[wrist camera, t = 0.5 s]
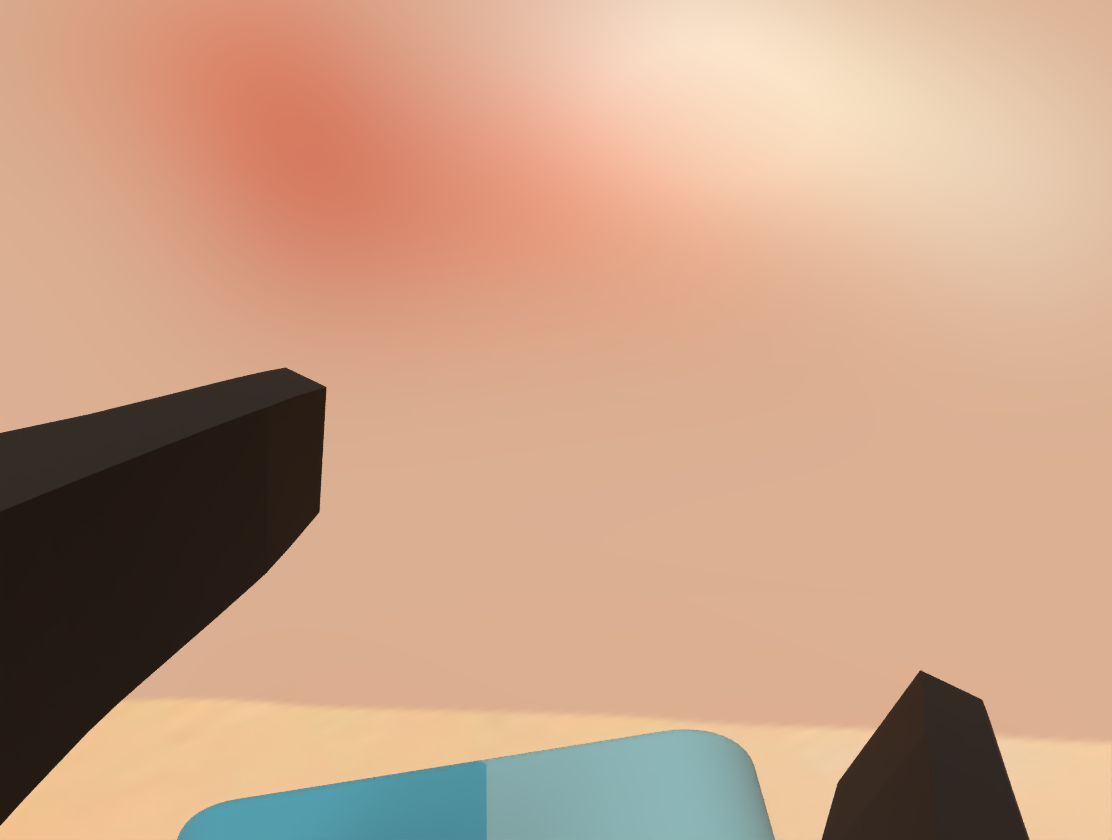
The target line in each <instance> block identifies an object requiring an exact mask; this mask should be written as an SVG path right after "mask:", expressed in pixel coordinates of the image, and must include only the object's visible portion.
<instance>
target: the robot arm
mask: <svg viewBox="0 0 1112 840" xmlns="http://www.w3.org/2000/svg"><path fill="white" fill-rule="evenodd" d="M325 402H326V387H325V386H323V385H321V384H319V383H317V382H314V381H312V380H310V379H308V378H306V377H304V376H302V375H300V374H298V373H296V372H294V371H292V370H289V369H287V368H281V369H276V370H270V371H265V372H261V373H256V374H251V375H247V376H243V377H239V378H234V379H230V380H226V381H222V382H218V383H214V384H210V385H206V386H202V387H198V388H194V389H190V390H186V391H182V392H178V393H174V394H170V395H166V396H162V397H158V398H154V399H150V400H145V401H141V402H137V403H133V404H129V405H125V406H121V407H117V408H113V409H109V410H105V411H101V412H96V413H92V414H88V415H83V416H79V417H74V418H70V419H64V420H60V421H56V422H50V423H46V424H41V425H36V426H32V427H27V428H22V429H17V430H13V431H8V432H3V433H0V825H1V824H2V823H3V822H4V821H5V820H6V819H7V818H8V817H9V815H10V814H11V813H12V812H13V811H14V810H15V809H16V808H17V807H18V805H19V804H20V803H21V802H22V801H23V800H24V799H25V798H26V797H27V796H28V795H29V794H30V793H31V791H32V790H33V789H34V788H35V787H36V786H37V785H38V784H39V783H40V782H41V781H42V780H43V779H44V778H45V777H46V776H47V775H48V774H49V772H50V771H51V770H52V769H53V768H54V767H55V766H56V765H57V764H58V763H59V762H60V761H61V760H62V759H63V758H64V757H65V756H66V755H67V754H68V752H69V751H70V750H71V749H72V748H73V747H74V746H75V745H76V744H77V743H78V742H79V741H80V740H81V739H82V738H83V737H84V736H85V735H86V734H87V733H88V732H89V731H90V730H91V729H92V728H93V727H94V726H95V725H96V724H97V723H98V722H99V721H100V720H101V719H102V718H103V717H104V716H105V715H107V714H108V713H109V712H110V711H111V710H112V709H113V708H114V707H115V706H116V705H117V704H118V703H119V702H120V701H121V700H123V699H124V698H125V697H126V696H127V695H128V694H129V693H131V692H132V691H133V690H134V689H135V688H136V687H137V686H139V685H140V684H141V683H142V682H143V681H144V680H145V679H146V678H148V677H149V676H150V675H151V674H152V673H153V672H155V671H156V670H157V669H158V668H159V667H160V666H162V665H163V664H164V663H165V662H166V661H167V660H168V659H169V658H171V657H172V656H173V655H174V654H175V653H176V652H178V650H180V649H181V648H182V647H183V646H184V645H186V644H187V643H188V642H189V641H190V640H191V639H192V638H193V637H195V636H196V635H197V634H198V633H199V632H200V631H202V630H203V629H204V628H205V627H206V626H207V625H209V624H210V623H211V622H212V621H213V620H214V619H215V618H217V617H218V616H219V615H220V614H221V613H222V612H223V611H224V610H226V609H227V608H228V607H229V606H230V605H231V604H232V603H233V602H234V601H236V600H237V599H238V598H239V597H240V596H241V595H242V594H244V593H245V592H246V591H247V590H248V589H249V588H250V587H251V586H253V585H254V584H255V583H256V582H257V581H258V580H259V579H260V578H261V577H262V576H263V575H265V574H266V573H267V572H268V570H269V569H270V568H271V567H272V566H273V565H274V564H275V563H276V562H277V561H278V559H279V558H280V557H281V556H282V555H283V554H284V553H285V552H286V551H287V549H288V548H289V547H290V546H291V545H292V544H293V543H294V542H295V540H296V539H297V538H298V537H299V536H300V534H301V533H302V532H303V531H304V530H305V528H306V527H307V526H308V525H309V524H310V523H311V521H312V520H313V519H314V518H315V517H316V516H317V514H318V513H319V510H320V492H321V474H322V456H323V439H324V421H325ZM822 840H1029V837H1028V834H1027V831H1026V828H1025V825H1024V822H1023V819H1022V816H1021V813H1020V810H1019V808H1018V805H1017V802H1016V799H1015V796H1014V793H1013V790H1012V787H1011V784H1010V781H1009V777H1008V774H1007V771H1006V768H1005V765H1004V762H1003V759H1002V756H1001V753H1000V750H999V747H998V744H997V741H996V738H995V735H994V732H993V729H992V725H991V722H990V720H989V717H988V714H987V711H986V709H985V706H984V703H983V701H982V700H981V699H979V698H977V697H975V696H973V695H971V694H969V693H967V692H965V691H962V690H961V689H959V688H956V687H954V686H952V685H950V684H948V683H946V682H944V681H941V680H940V679H937V678H935V677H933V676H931V675H929V674H927V673H925V672H922V671H919V673H918V674H917V676H916V677H915V678H914V680H913V681H912V682H911V684H910V685H909V687H908V688H907V689H906V691H905V692H904V693H903V695H902V696H901V697H900V699H899V700H898V702H897V703H896V704H895V706H894V707H893V708H892V710H891V711H890V712H889V714H888V715H887V716H886V718H885V719H884V720H883V722H882V723H881V725H880V726H879V727H878V729H877V730H876V731H875V733H874V734H873V735H872V737H871V738H870V740H869V741H868V742H867V744H866V745H865V746H864V748H863V749H862V750H861V752H860V753H859V755H858V756H857V757H856V759H855V760H854V761H853V763H852V764H851V765H850V767H849V768H848V770H847V771H846V772H845V774H844V775H843V776H842V778H841V779H840V780H839V782H838V784H837V788H836V791H835V795H834V798H833V802H832V805H831V809H830V812H829V816H828V819H827V823H826V826H825V830H824V833H823V837H822Z"/></svg>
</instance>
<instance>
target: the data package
mask: <svg viewBox="0 0 1112 840" xmlns="http://www.w3.org/2000/svg"><path fill="white" fill-rule="evenodd" d="M177 840H775V838H774V835H773V831H772V827H771V824H770V820H769V817H768V813H767V810H766V806H765V803H764V799H763V795H762V792H761V788H760V785H759V781H758V778H757V774H756V770H755V767H754V764H753V762H752V760H751V758H750V756H749V755H748V753H747V752H746V751H745V750H744V749H743V748H742V747H741V746H740V745H739V744H737V743H736V742H734V741H732V740H731V739H729V738H726V737H724V736H722V735H718V734H715V733H711V732H707V731H700V730H670V731H662V732H656V733H650V734H643V735H637V736H631V737H624V738H618V739H612V740H606V741H599V742H593V743H587V744H581V745H574V746H568V747H562V748H555V749H549V750H543V751H537V752H530V753H524V754H518V755H512V756H505V757H499V758H493V759H486V760H480V761H474V762H468V763H461V764H455V765H449V766H442V767H436V768H430V769H424V770H417V771H411V772H405V773H399V774H392V775H386V776H380V777H373V778H367V779H361V780H355V781H348V782H342V783H336V784H330V785H323V786H317V787H311V788H304V789H298V790H292V791H286V792H279V793H273V794H267V795H261V796H254V797H248V798H242V799H236V800H231V801H226V802H222V803H219V804H216V805H213V806H211V807H208V808H206V809H204V810H203V811H201V812H199V813H198V814H196V815H195V816H193V817H192V818H191V819H190V820H189V821H188V822H187V823H186V824H185V825H184V827H183V828H182V830H181V831H180V834H179V836H178V839H177Z"/></svg>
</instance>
